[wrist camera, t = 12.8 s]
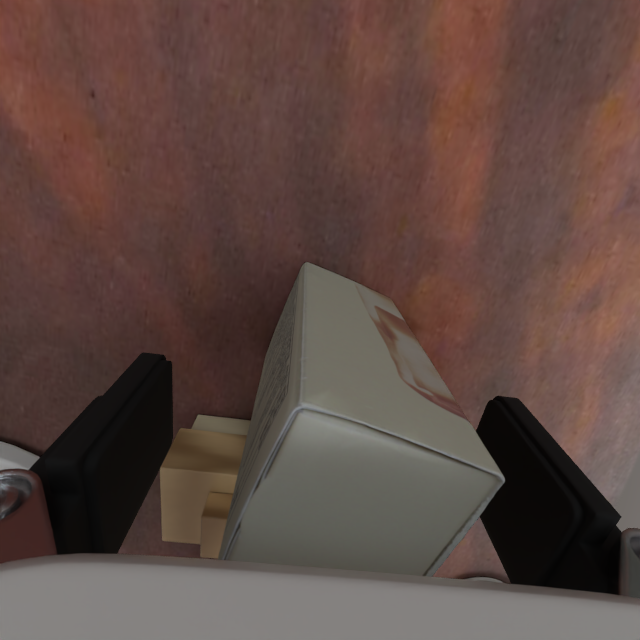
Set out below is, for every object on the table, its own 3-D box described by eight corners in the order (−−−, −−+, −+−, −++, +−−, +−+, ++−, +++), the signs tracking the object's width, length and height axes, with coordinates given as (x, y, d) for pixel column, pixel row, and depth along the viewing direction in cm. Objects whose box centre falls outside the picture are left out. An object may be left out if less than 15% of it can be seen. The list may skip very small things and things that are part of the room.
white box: (348, 387, 17) (385, 639, 8) (262, 356, 17) (198, 594, 8) (400, 294, 16) (523, 484, 6) (306, 254, 15) (290, 403, 6)
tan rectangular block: (188, 474, 20) (150, 569, 15) (189, 408, 18) (146, 493, 13) (404, 496, 20) (430, 592, 16) (425, 435, 19) (460, 524, 14)
